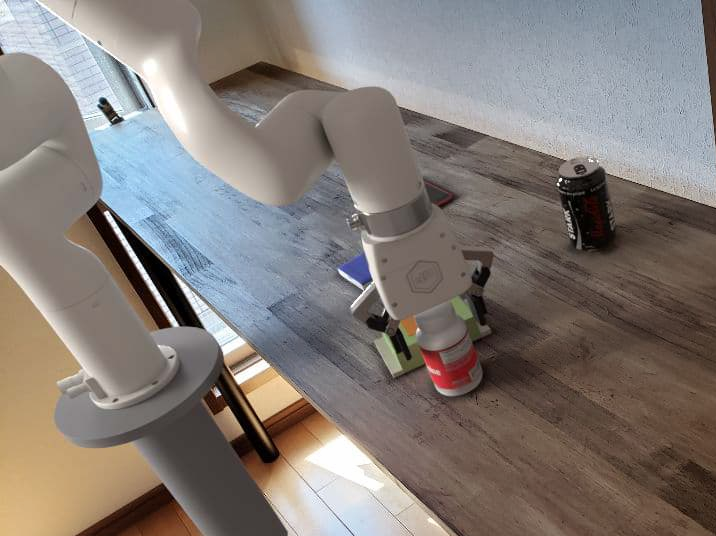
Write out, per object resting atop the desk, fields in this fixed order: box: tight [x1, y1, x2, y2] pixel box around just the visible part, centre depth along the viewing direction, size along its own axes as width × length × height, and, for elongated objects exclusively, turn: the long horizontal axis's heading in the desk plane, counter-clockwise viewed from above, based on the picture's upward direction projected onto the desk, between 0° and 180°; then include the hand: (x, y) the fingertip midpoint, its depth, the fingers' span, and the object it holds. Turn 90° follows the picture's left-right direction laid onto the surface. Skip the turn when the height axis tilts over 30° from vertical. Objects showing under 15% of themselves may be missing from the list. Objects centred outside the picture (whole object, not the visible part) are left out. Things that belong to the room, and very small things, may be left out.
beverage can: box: [556, 156, 618, 253], centre depth 117 cm, size 7×7×12 cm
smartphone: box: [423, 180, 453, 208], centre depth 144 cm, size 7×1×14 cm
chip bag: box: [373, 295, 492, 379], centre depth 111 cm, size 14×9×4 cm, turn 115°
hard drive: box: [337, 251, 373, 292], centre depth 129 cm, size 2×8×12 cm
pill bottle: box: [414, 301, 483, 397], centre depth 100 cm, size 6×6×11 cm
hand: (443, 337), depth 99 cm, fingers open, 9 cm apart
